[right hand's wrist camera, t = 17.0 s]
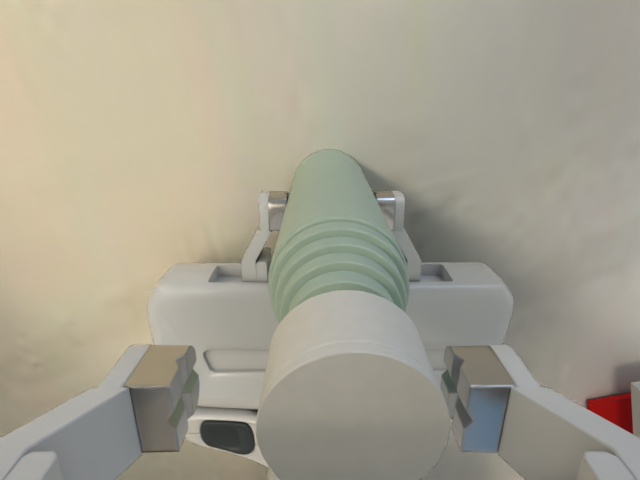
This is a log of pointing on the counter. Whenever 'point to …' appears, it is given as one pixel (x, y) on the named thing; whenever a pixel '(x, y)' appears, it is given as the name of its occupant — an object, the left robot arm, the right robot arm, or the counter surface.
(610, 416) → the toy
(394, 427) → the cap
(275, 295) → the bottle
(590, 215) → the counter surface
